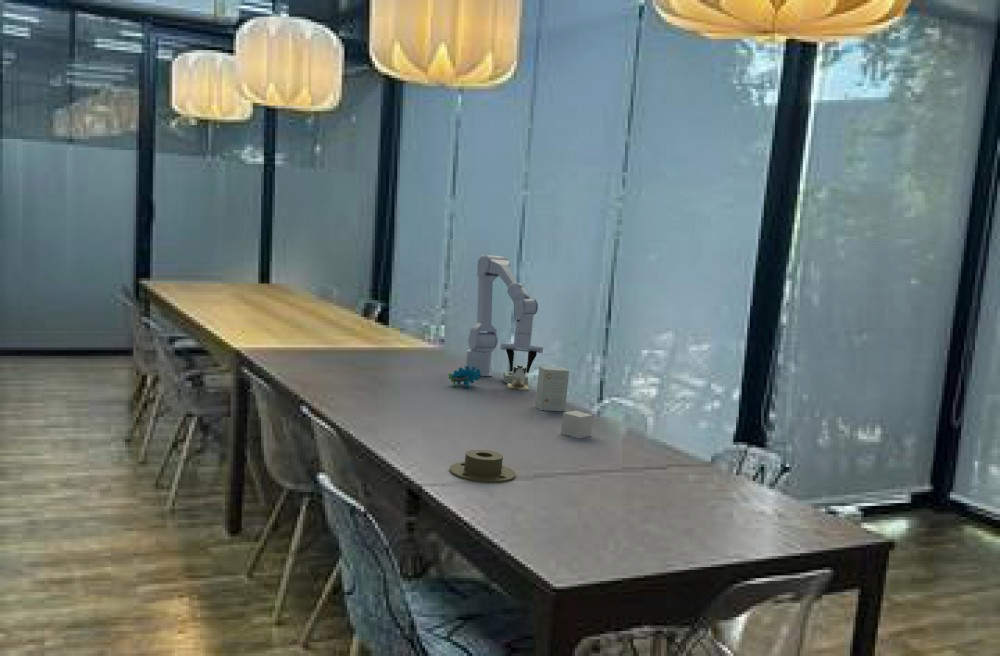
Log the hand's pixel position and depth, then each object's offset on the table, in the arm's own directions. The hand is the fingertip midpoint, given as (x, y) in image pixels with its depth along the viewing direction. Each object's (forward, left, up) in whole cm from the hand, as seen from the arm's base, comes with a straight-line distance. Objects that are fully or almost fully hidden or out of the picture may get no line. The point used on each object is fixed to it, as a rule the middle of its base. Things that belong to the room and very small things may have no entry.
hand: (519, 371), depth 314 cm
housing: (0, +10, -6) cm, 11 cm away
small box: (+7, -31, -6) cm, 33 cm away
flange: (-19, -108, -6) cm, 110 cm away
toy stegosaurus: (-19, -5, -6) cm, 21 cm away
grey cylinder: (0, 0, -5) cm, 5 cm away
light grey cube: (+10, -63, -6) cm, 65 cm away
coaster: (0, 0, -6) cm, 6 cm away
